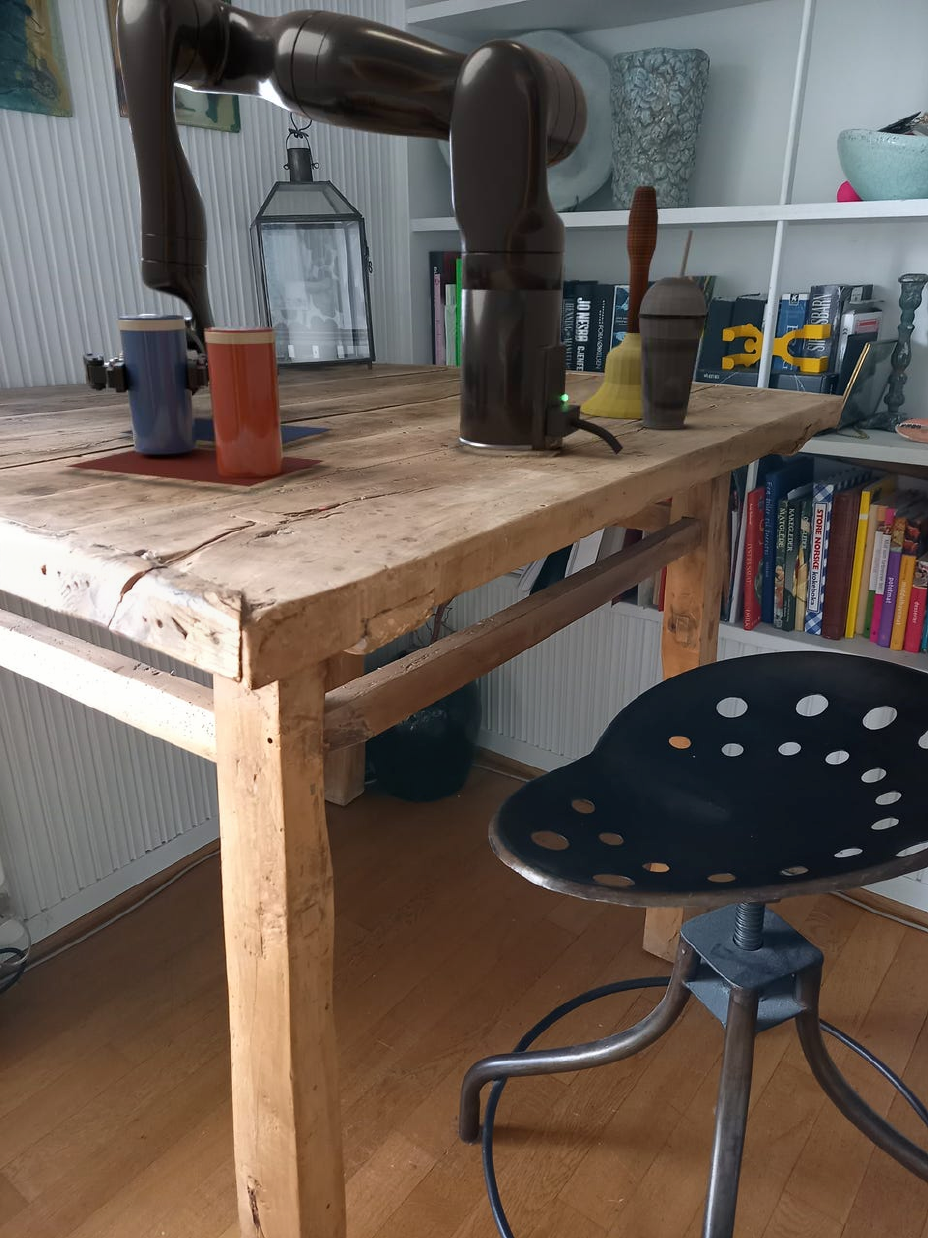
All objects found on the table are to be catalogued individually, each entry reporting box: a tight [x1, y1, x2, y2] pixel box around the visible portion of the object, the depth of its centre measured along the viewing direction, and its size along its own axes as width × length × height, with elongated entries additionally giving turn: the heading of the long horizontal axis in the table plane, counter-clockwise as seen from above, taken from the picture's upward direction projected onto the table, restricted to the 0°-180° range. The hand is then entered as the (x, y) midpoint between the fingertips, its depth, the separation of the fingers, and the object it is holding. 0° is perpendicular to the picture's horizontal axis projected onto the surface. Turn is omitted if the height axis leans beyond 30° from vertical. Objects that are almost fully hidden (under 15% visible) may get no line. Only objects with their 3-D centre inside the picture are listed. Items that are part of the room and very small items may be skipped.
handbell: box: [580, 185, 659, 420], centre depth 106 cm, size 12×12×25 cm
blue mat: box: [119, 417, 334, 445], centre depth 91 cm, size 18×11×1 cm, turn 67°
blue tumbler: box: [117, 314, 198, 454], centre depth 77 cm, size 5×5×11 cm
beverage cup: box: [638, 229, 708, 430], centre depth 96 cm, size 7×7×20 cm
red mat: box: [65, 448, 325, 487], centre depth 76 cm, size 18×11×1 cm, turn 67°
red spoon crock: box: [204, 325, 284, 478], centre depth 71 cm, size 5×5×11 cm
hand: (156, 378), depth 74 cm, fingers closed on blue tumbler, 5 cm apart
